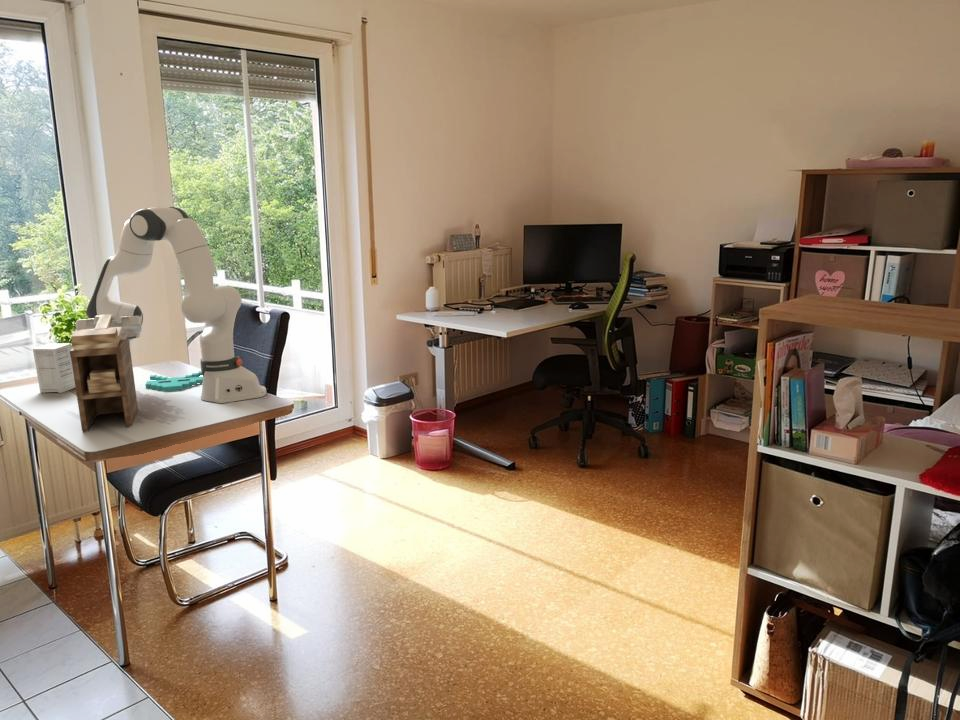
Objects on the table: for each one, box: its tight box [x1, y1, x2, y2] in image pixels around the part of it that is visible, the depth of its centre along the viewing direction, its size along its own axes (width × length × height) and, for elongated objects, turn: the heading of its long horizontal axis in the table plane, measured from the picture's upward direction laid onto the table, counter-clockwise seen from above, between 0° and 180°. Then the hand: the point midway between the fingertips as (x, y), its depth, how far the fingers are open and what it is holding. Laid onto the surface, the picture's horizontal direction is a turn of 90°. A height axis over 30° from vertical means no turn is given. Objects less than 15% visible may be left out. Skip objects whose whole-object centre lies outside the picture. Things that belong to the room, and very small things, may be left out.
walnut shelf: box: [70, 335, 139, 433], centre depth 238 cm, size 14×20×26 cm
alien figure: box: [145, 370, 203, 392], centre depth 283 cm, size 20×2×20 cm
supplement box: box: [32, 342, 76, 394], centre depth 276 cm, size 10×9×17 cm
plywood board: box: [70, 314, 122, 350], centre depth 238 cm, size 12×28×4 cm, turn 18°
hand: (105, 317), depth 248 cm, fingers closed on plywood board, 3 cm apart
